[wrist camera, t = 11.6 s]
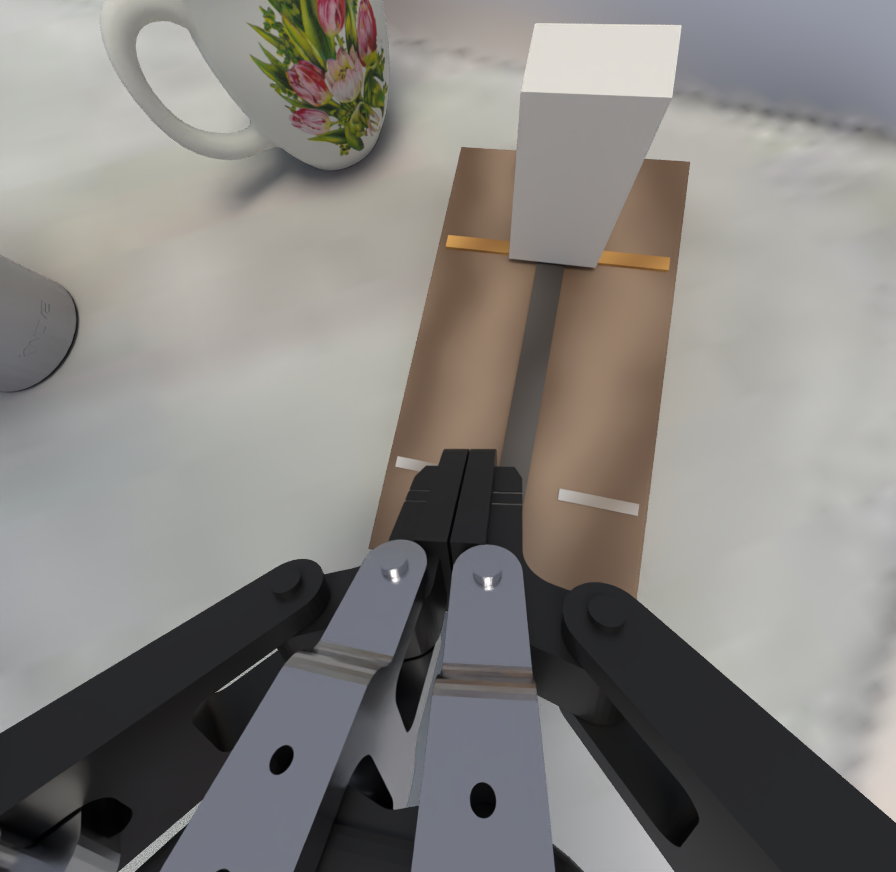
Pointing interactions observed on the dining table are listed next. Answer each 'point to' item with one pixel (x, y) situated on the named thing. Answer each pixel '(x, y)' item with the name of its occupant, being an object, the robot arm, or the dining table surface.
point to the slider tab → (585, 133)
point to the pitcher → (271, 72)
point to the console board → (547, 370)
